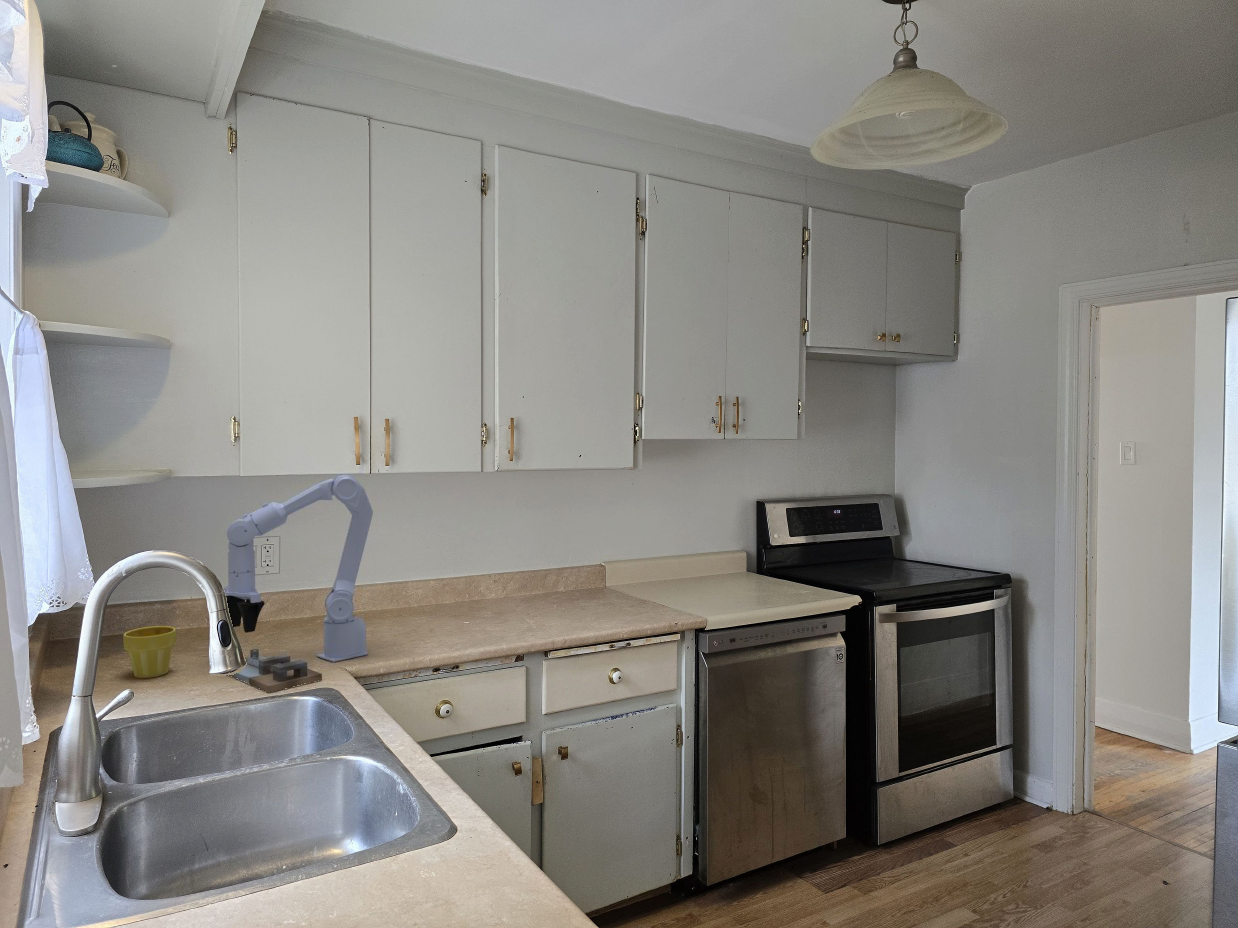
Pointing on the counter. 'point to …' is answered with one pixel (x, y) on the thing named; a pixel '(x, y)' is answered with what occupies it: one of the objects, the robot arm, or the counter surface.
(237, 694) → the counter surface
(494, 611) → the counter surface
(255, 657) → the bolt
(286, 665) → the door and jamb
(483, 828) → the counter surface
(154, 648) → the plant pot
